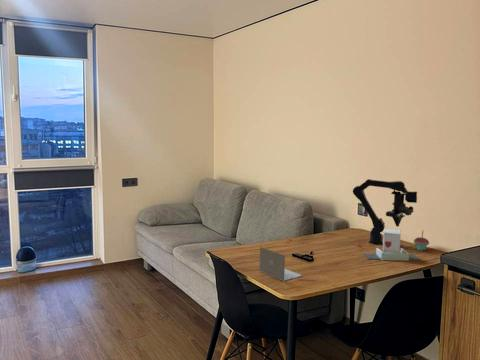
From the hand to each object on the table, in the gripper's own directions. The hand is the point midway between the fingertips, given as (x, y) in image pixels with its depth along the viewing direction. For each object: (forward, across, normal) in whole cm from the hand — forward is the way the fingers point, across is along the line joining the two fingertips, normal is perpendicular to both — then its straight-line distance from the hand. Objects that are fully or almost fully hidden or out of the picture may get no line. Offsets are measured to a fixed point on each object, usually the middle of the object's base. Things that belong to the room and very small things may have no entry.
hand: (397, 226), depth 270 cm
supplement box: (+12, -26, -12) cm, 31 cm away
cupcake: (+12, +4, -14) cm, 19 cm away
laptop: (+13, -96, +5) cm, 97 cm away
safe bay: (+12, -26, -13) cm, 31 cm away
